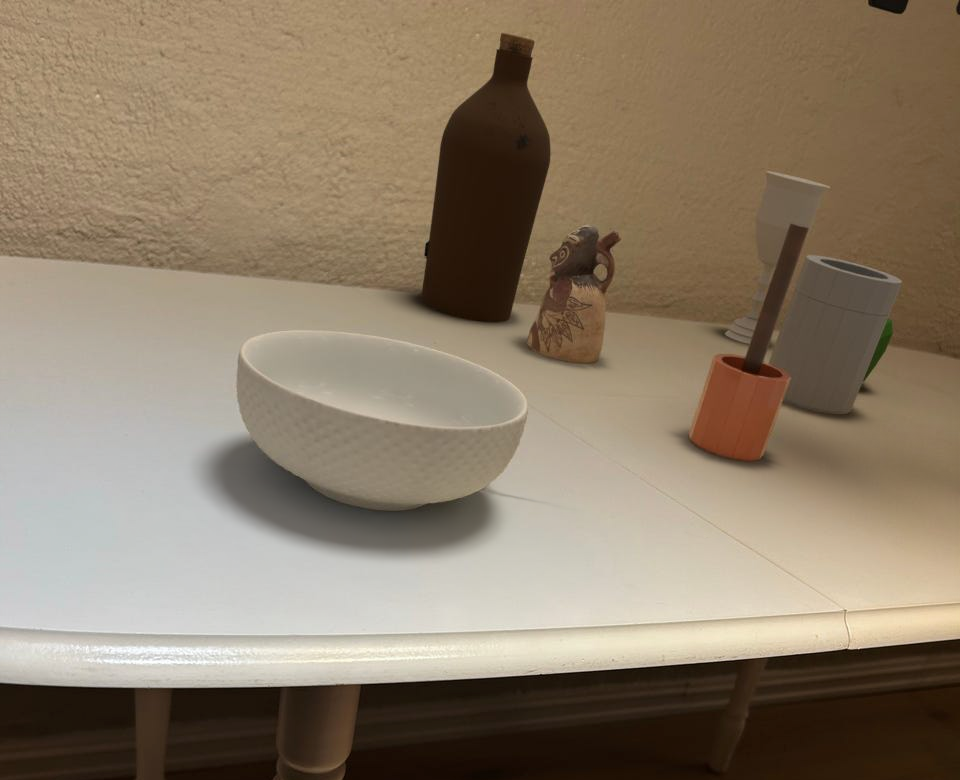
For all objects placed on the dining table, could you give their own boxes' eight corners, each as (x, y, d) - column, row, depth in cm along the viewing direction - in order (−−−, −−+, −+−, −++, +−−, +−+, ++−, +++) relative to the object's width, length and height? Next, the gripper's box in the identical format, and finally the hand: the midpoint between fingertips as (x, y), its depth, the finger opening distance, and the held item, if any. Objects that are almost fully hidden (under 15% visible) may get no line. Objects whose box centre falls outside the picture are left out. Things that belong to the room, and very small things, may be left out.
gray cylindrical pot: (836, 397, 108) (885, 270, 102) (859, 425, 100) (914, 288, 94) (752, 379, 108) (797, 249, 101) (769, 405, 100) (819, 266, 93)
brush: (737, 443, 85) (812, 226, 77) (743, 454, 83) (821, 231, 74) (707, 436, 85) (778, 218, 76) (712, 447, 83) (786, 223, 74)
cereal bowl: (559, 522, 64) (588, 413, 61) (346, 571, 53) (367, 440, 50) (385, 421, 74) (402, 321, 70) (173, 444, 62) (180, 327, 59)
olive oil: (534, 321, 110) (594, 54, 97) (477, 330, 101) (536, 40, 89) (453, 291, 114) (502, 32, 102) (393, 298, 106) (438, 17, 93)
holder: (752, 446, 87) (781, 364, 83) (766, 472, 82) (798, 386, 78) (682, 431, 87) (709, 348, 83) (692, 456, 81) (721, 369, 78)
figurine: (537, 338, 103) (566, 212, 98) (604, 359, 102) (638, 231, 96) (515, 351, 97) (545, 217, 91) (587, 373, 96) (622, 238, 90)
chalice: (711, 337, 122) (763, 172, 113) (717, 327, 127) (767, 169, 118) (772, 354, 120) (829, 189, 111) (776, 343, 126) (831, 185, 117)
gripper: (1191, -292, 62) (1054, 35, 70) (985, -253, 75) (891, 18, 84) (1103, -337, 59) (971, 9, 67) (906, -288, 72) (816, -4, 81)
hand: (927, 14), depth 75 cm, fingers open, 9 cm apart
